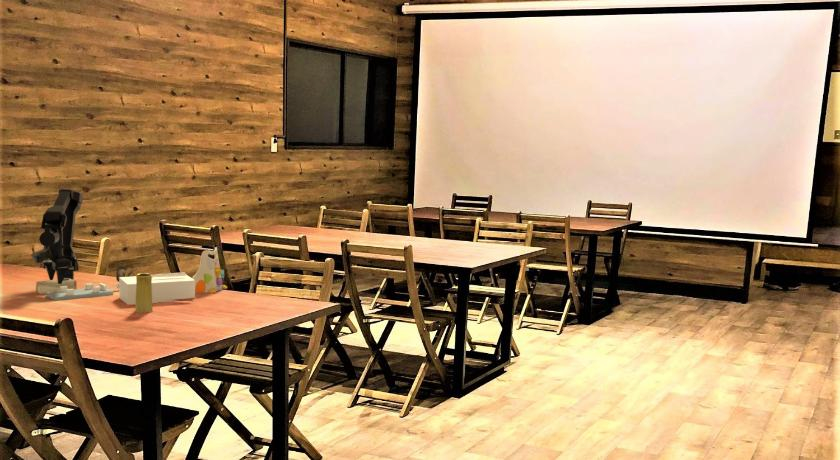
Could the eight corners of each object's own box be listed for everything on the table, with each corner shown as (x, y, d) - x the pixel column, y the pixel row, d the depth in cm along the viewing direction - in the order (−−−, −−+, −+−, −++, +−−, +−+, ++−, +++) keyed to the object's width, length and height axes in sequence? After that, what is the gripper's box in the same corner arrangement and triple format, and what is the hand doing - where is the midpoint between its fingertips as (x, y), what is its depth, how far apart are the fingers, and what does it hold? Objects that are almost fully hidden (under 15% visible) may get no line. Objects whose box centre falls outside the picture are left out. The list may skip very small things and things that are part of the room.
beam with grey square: (36, 292, 339) (36, 280, 338) (73, 289, 348) (73, 276, 348) (39, 294, 336) (39, 282, 335) (76, 291, 346) (76, 278, 345)
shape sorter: (211, 297, 343) (211, 253, 341) (186, 295, 345) (186, 251, 343) (232, 288, 362) (232, 246, 360) (208, 286, 365) (208, 244, 362)
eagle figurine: (137, 287, 355) (137, 266, 354) (131, 291, 348) (131, 269, 347) (118, 287, 355) (118, 265, 354) (112, 290, 348) (112, 268, 347)
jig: (46, 296, 333) (46, 287, 332) (102, 290, 348) (102, 281, 347) (55, 301, 326) (55, 291, 325) (113, 294, 340) (113, 286, 340)
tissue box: (119, 299, 334) (119, 271, 333) (184, 294, 347) (184, 267, 345) (127, 307, 322) (127, 278, 320) (194, 302, 335) (195, 274, 333)
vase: (147, 311, 315) (147, 272, 314) (155, 314, 311) (156, 275, 309) (131, 313, 311) (131, 274, 309) (139, 316, 307) (139, 277, 305)
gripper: (25, 240, 341) (25, 279, 343) (42, 247, 327) (42, 288, 329) (54, 238, 348) (54, 277, 350) (72, 245, 335) (72, 285, 337)
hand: (55, 281), depth 342 cm, fingers open, 9 cm apart
